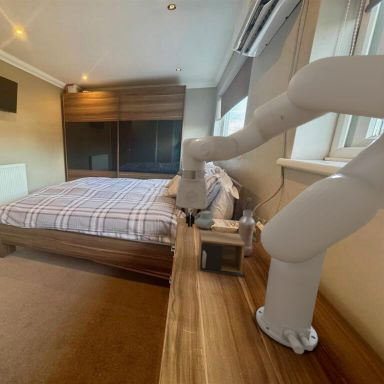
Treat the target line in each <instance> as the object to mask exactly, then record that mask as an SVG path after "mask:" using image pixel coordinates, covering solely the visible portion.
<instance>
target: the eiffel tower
mask: <svg viewBox="0 0 384 384" xmlns="http://www.w3.org/2000/svg"><path fill="white" fill-rule="evenodd" d="M248 193H249V194H248V197H247V198H246V199H245V201H247V202H246V207H245V210H251V201H252V198H251V197H250V194H251V193H250V192H248ZM236 230H237V231H236ZM236 230H234V234H239V227H238V228H236ZM257 236H258V234H257V233H256V231H255V230H254V232H253V237H252V242H254V243H255V242H257V239H256V237H257Z"/></svg>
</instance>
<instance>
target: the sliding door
mask: <svg viewBox="0 0 384 384" xmlns="http://www.w3.org/2000/svg"><path fill="white" fill-rule="evenodd" d="M222 252H223V245H216V244H207V243H202V245H201V261H200V267H199V269H200V268H206V269H214V270H221V264H222Z"/></svg>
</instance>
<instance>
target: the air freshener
mask: <svg viewBox="0 0 384 384" xmlns="http://www.w3.org/2000/svg"><path fill="white" fill-rule="evenodd" d="M211 217H212V212H211V211H210V210H207V211H204V212H199V217H198V218H195V225H196V226H197V227H198V228H199V229H203V230H210V229H212V228H211V226H212V225H214V224H216V223H215V221H214V219H212V218H211ZM214 226H215V225H214Z"/></svg>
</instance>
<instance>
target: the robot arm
mask: <svg viewBox="0 0 384 384" xmlns="http://www.w3.org/2000/svg"><path fill="white" fill-rule="evenodd" d="M330 113H333V114H341V115H349V116H356V117H366V118H372V119H379V120H381V121H382V122H384V54H361V55H359V54H357V55H335V56H326V57H321V58H318V59H316V60H313V61H311V62H309V63H307V64H306V65H304V66H303V67H301V68H300V69H298V71H297V72H295V73H294V74H293V76H292V77H291V79H290V81H289V83H288V85H287V89H286V91H283V92H282V93H280V94H279V95H277V96H275V97H274V98H272V99H270V100H268V101H266V102H265V103H263V104H262V105H260V106H258V107H257V108H255V110H253V113H252V117H251V120H250V121H249V122H248V123H247V124H246V125H245V126H243V127H242V128H240V129H238V130H237V131H234V132H233V133H231V134H229V135H227V136H225V135H224V136H223V135H222V136H221V135H207V136H203V137H190V138H186V139H184V140H183V141H182V149H181V150H182V152H181V170H180V171H177V172H176V175H177V176H179V177H180V178H179V179H178V182H177V188H176V199H175V201H176V204H175V209H176V210H177V211H181V212H182V213H183V214H184V215H185V224H186V225H187V228H190V227H191V228H193V225H196V223H195V221H196V216H197V215H198V214H200V212H204V211H208V206H207V205H208V181H207V179H205V171H206V162H221V161H222V162H223V161H230V160H233V159H236V158H238V157H240V156H243V155H245V154H247V153H250V152H252V151H253V150H256V149H257V148H259V147H261V146H262V145H264V144H266V143H268V142H269V141H271V140H272V139H274V138H276V137H279V136H281V135H283V134H285V133H288V132H289V131H292V130H294V129H297V128H299V127H301V126H303V125H306V124H308V123H310V122H312V121H314V120H316V119H319V118H321V117H323V116H326V115H328V114H330ZM383 205H384V129H383V130H382V131H381V133H380V134H379V135H378V137H376V138H375V139H374V140H373V141H371V143H370V144H369V145H367V146H366V147H364V148H363V149H361V151H360V152H359V153H357V155H356V156H354V157H353V158H352V159H351V160H350V161H349V162H347V163H346V164H345V165H344V166H342V167H341V168H340V169H338V170H337V171H335V173H333V174H331V175H329V176H327V177H325V178H321V179H319V180H317V181H315V182H313V183H312V184H311V185H309V186H307V188H305V189H303V190H302V191H301V192H300V193H299V194H298V195H297V196H296V197H294V198H293V199H292V200H291V201H290V202H289V203H288V204H286V205H285V206H284V207H282V209H280V211H278V212H277V213H276V214H275V215H274V216H272V217H271V218H270V219H269V220H268V221H267V222H266V223H265V224H264V225H263V227H262V229H261V231H260V242H261V245H262V247H263V249H264V251H265V252H266V253H267V254H268V255H269V256H270V262H269V269H268V275H267V282H266V290H265V298H264V304H263V306H261V307H259V308H258V309H257V310H256V313H255V319H256V322H257V324H258V326H259V327H260V328H261V330H262V331H263V332H264V333H265V334H267V336H269V338H271V339H273V340H274V341H276V342H278V343H279V344H281V345H283V346H286V347H288V348H291V349H292V350H293V352H294V353H295V354H298V355H302V354H303V353H305V351H311V352H312V351H313V350H314V348H316V347H317V345H318V342H319V336H318V333H317V332H316V330H315V329H314V327H313V326H312V323H313V316H314V312H315V306H316V301H317V298H318V297H317V296H318V292H319V287H320V286H319V285H320V282H321V278H322V273H323V268H324V263H325V259H326V255H327V252H328V249H330V248H331V247H333V246H335V245H337V244H338V243H340V242H341V241H343V240H344V239H347V238H348V237H349V236H351V235H353V234H354V233H357V232H358V231H359V230H361V229H362V228H364V227H365V226H366V225H367V224H369V223H370V222H371V221H372V220H373V219H374V218H375V217H376V215H377V214H378V212H379V210H380V209H381V208H382V206H383ZM190 209H192V212H191V213H190Z"/></svg>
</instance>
